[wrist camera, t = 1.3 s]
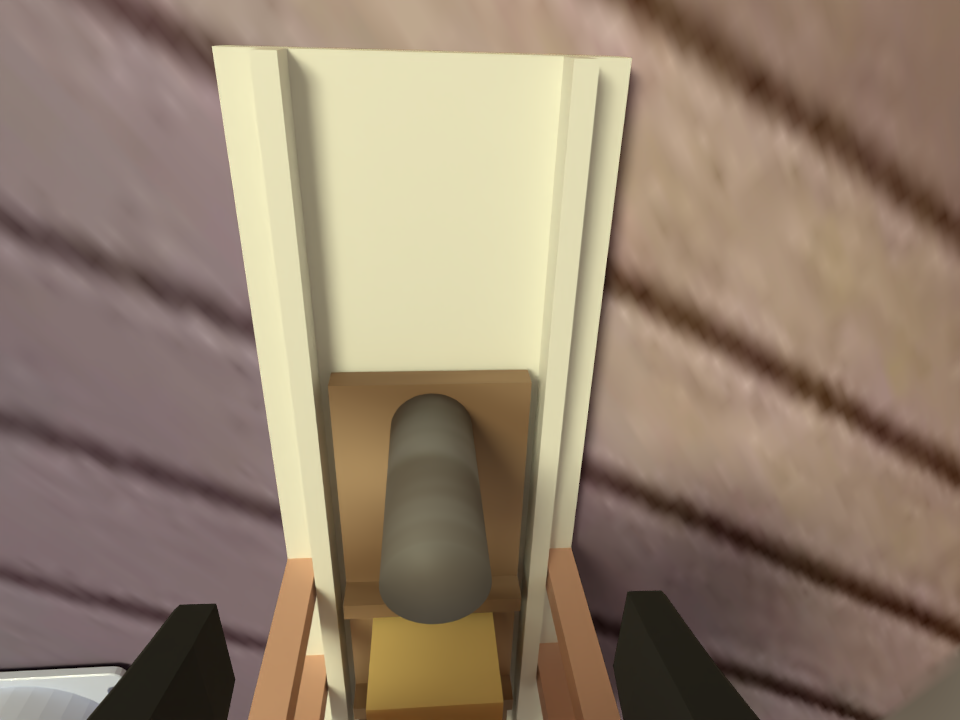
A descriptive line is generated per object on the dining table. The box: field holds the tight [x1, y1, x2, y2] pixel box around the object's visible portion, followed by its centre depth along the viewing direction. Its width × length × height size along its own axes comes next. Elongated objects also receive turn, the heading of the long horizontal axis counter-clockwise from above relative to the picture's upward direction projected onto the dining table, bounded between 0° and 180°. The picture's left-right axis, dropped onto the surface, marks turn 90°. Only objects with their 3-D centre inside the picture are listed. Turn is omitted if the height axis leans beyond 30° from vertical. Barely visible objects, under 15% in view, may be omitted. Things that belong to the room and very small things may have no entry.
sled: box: [328, 370, 532, 720], centre depth 20 cm, size 16×6×7 cm, turn 179°
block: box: [366, 612, 504, 720], centre depth 21 cm, size 4×4×4 cm
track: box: [212, 45, 632, 720], centre depth 20 cm, size 32×10×8 cm, turn 179°
